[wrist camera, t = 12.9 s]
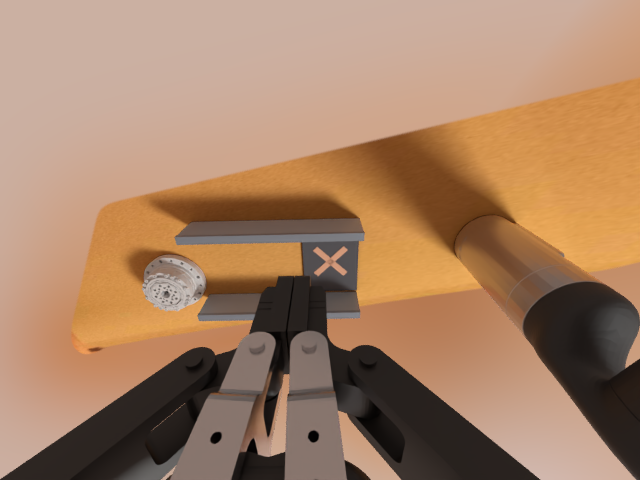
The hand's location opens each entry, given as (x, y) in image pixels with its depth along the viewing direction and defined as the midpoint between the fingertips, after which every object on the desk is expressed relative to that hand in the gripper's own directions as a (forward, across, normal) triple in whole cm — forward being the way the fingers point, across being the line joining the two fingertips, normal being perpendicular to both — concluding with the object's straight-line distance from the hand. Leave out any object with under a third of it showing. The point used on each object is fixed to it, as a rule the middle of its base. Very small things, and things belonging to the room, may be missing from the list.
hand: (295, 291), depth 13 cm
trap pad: (+29, -2, +16) cm, 33 cm away
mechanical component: (+30, +24, +19) cm, 43 cm away
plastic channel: (+29, +6, +16) cm, 34 cm away
